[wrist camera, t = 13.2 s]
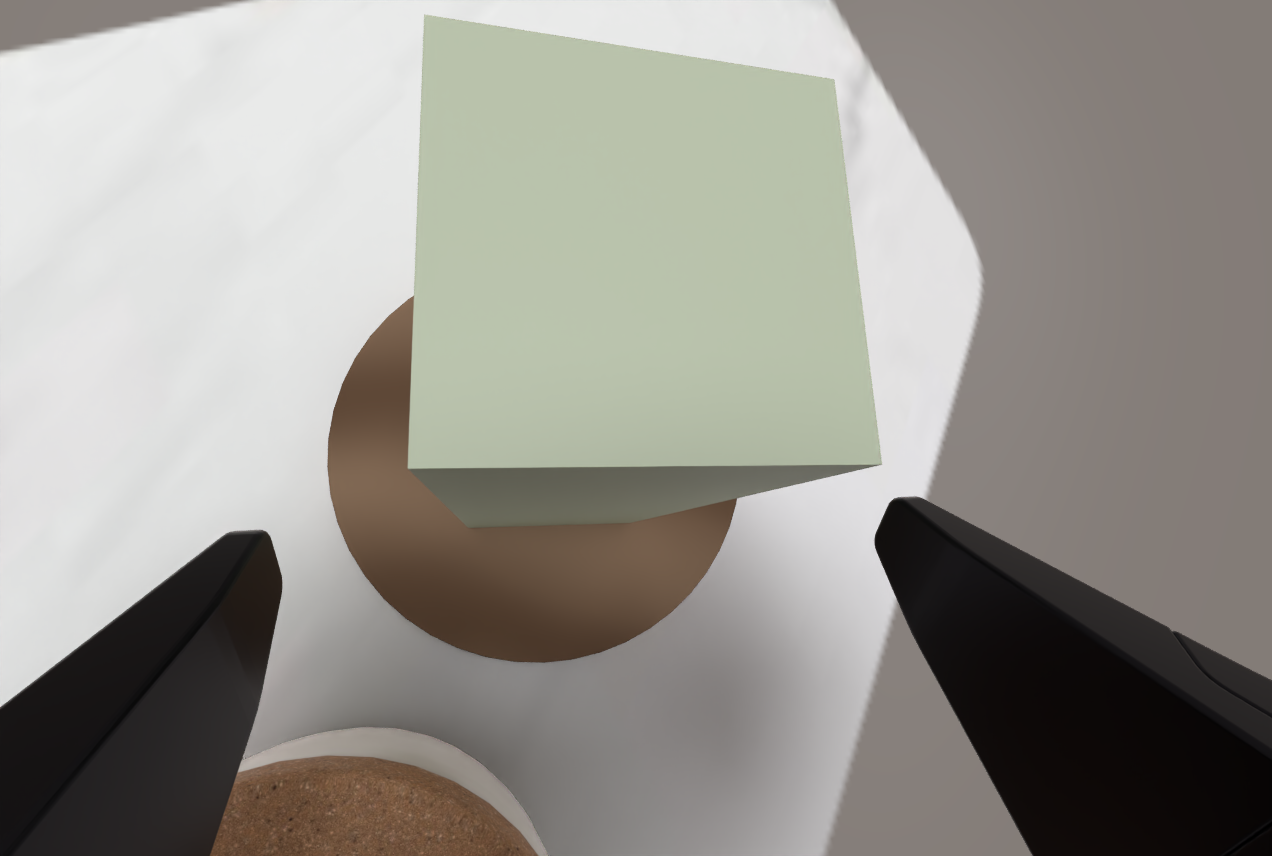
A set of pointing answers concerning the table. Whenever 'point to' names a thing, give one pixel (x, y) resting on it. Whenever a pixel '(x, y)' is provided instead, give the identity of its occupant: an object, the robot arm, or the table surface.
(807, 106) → the post
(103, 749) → the robot arm
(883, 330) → the table surface
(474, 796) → the lidded jar
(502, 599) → the disc
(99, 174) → the table surface
